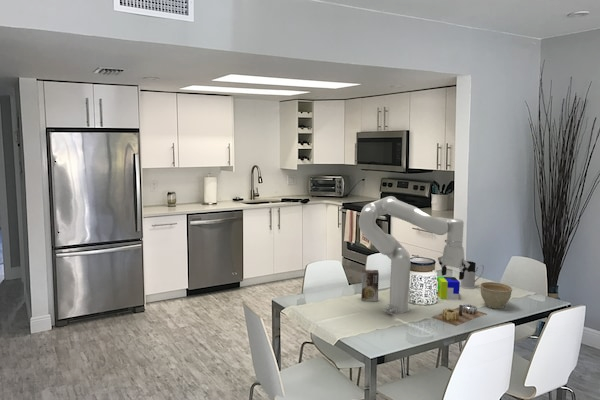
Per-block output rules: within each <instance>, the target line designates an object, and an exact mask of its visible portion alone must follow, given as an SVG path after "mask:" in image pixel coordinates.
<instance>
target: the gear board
mask: <svg viewBox="0 0 600 400" xmlns="http://www.w3.org/2000/svg"><path fill="white" fill-rule="evenodd" d="M463 305H464V304H459V306H458V307H456V308H453V309H454V310H457V311H458V321H455V322H454V321H453V322H451V321H447V320H444V319H442V315H443V312H442V313H439V314H437V315H436V314H435V315H433V316H432V317H431V318H433V319H436V320H438V321H440V322H444V323H448V324H449V325H452V326H455V327H457V326H460V325H462V324H465V323H467V322H469V321H471V320H475V319H477V318H480V317H482V316H486V315H487V313H486V312H483V311H480V310H477V313H476V314H475V313H474V314H471V313H470V314H468V313H465V312H462V310H463Z"/></svg>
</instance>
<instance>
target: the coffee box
mask: <svg viewBox="0 0 600 400" xmlns="http://www.w3.org/2000/svg"><path fill="white" fill-rule="evenodd" d="M379 275H380V273H379V269H361V298H360V299H361V301H362V302H379Z"/></svg>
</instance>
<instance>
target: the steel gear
mask: <svg viewBox="0 0 600 400" xmlns="http://www.w3.org/2000/svg"><path fill="white" fill-rule="evenodd" d="M462 305H463V310H462V312H465V313H468V314H470V313H471V314H474V313H475V314H476V313H477V311H478V306H476V305H473V304H471V303H470V304H462Z"/></svg>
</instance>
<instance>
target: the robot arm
mask: <svg viewBox="0 0 600 400" xmlns="http://www.w3.org/2000/svg"><path fill="white" fill-rule="evenodd" d="M385 215H389V216H392V217H394V218H397V219H399V220H402V221H405V222H407V223H409V224H411V225H413V226H415V227H418V228H420V229H422V230H425V231H427V232H429V233H432V234H434V235H437V236H444V235H446V236H447V237H446V239H444V243H446V244H445V245H444V248H443V251H442V256H438V257H437V261H438V264H439V266H440V268H441V276H445V275H447V267H451V268H456V269H459V275H458V279H459V280H460V281H461V280H462V279H463V278H464V271H466V270H467V269H468V268H469V266H470V264H469V263H468V262H467V261H468V260H465V251H464V250H465V249H464V246H463V242H464V239H463V237H464V225H465V223H464V220H463V219H461V218H446V217H442V216H440V217H439V216H438V217H434V216H431V215H430V214H428V213H426V212H424V211H423V210H422V209H420V208H418V207H417V206H414V205H412V204H408V203H406V202H404V201H402V200H399V199H397V198H396V197H395V196H392V195H390V196H386V197H383V198H380V199H377V200H375V201H372V202H370V203H367V204H365V205H364V206H363V207H362V209H361V212H360V214H359V217H358V226H359V227H358V228H359V230H360V232H361V233H362V235H363V236H364V237H365V238H366V239H367V240H368V241H369V243H370V244H372V245H373V246H374V248H375V249H376V250H377V251H378V252H379V253H380V255H383V256H386V257H388V258H389V259H390V280H389V281H390V282H389V283H390V284H389V285H390V286H389V303H388V304H387V305H388V306H385V307H384V308H383V312H384V313H388V314H389V315H390V316H396V315H400V314H404V313H408V311H410V310H411V309H410V308H409V297H410V280H411V279H410V278H411V277H410V275H411V266H412V265H411V263H412V261H411V257H410V253H409V252H408V250H407V249H406V248H405V247H404V246H403V245H402V244H401V243H400V242H399V241H398V240H397V239H396V238H395V237H394V236H393V235H391V234H389V233H385V232H384V230H383V229H382V228H381V227H380V226H378V224H377V223H376V220H377V218H379V217H382V216H385ZM464 264H465V265H466V266H465V268H464ZM459 280H458V281H459Z"/></svg>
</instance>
